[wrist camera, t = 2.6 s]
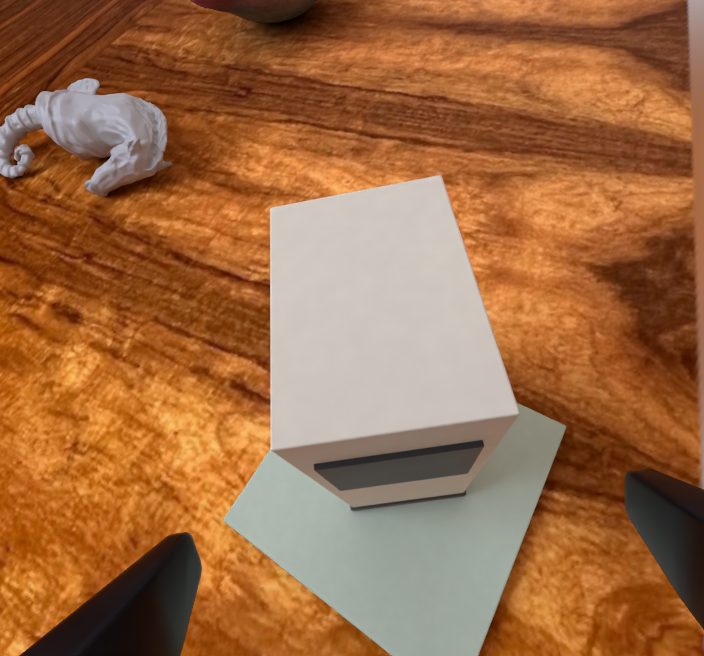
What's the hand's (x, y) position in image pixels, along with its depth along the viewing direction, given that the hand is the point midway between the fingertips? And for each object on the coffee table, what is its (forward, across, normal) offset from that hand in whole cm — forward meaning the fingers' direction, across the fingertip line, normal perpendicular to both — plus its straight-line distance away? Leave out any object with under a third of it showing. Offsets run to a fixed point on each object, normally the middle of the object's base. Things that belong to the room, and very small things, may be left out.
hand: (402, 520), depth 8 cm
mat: (+10, 0, +6) cm, 12 cm away
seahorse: (+32, +23, -16) cm, 42 cm away
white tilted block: (+11, 0, +4) cm, 12 cm away
